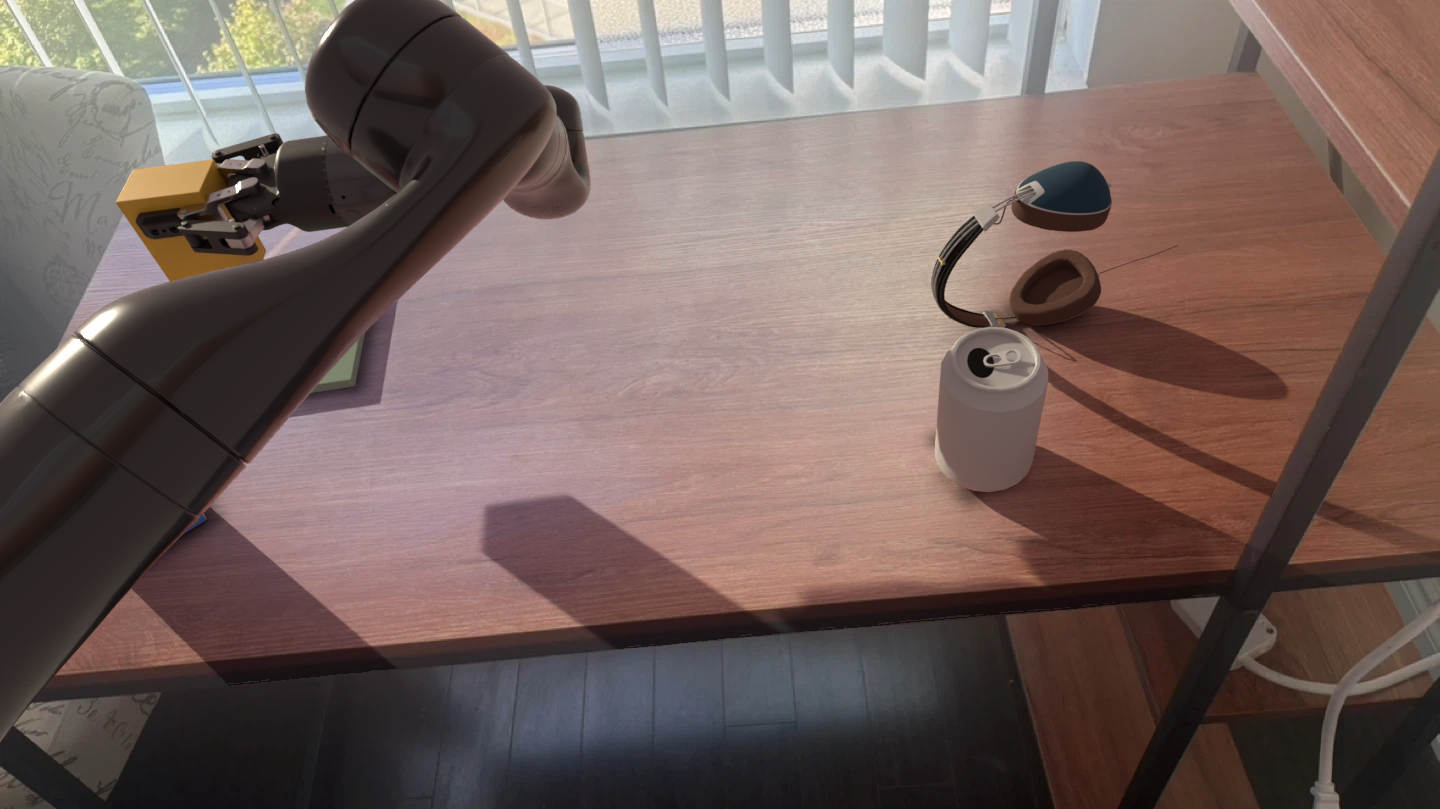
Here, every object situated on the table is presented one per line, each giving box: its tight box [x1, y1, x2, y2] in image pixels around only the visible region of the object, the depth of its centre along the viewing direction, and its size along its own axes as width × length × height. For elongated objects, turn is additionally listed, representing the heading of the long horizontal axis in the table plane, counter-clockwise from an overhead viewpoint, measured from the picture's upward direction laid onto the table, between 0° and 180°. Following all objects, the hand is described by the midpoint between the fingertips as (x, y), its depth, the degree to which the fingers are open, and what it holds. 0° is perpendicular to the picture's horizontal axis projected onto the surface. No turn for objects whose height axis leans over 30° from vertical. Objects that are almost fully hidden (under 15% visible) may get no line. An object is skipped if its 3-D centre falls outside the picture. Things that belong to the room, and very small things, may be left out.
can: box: [933, 327, 1049, 493], centre depth 76 cm, size 8×8×12 cm
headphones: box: [930, 160, 1179, 329], centre depth 84 cm, size 6×15×22 cm
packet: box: [115, 159, 267, 282], centre depth 87 cm, size 4×7×10 cm, turn 93°
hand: (152, 207), depth 85 cm, fingers closed on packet, 4 cm apart
